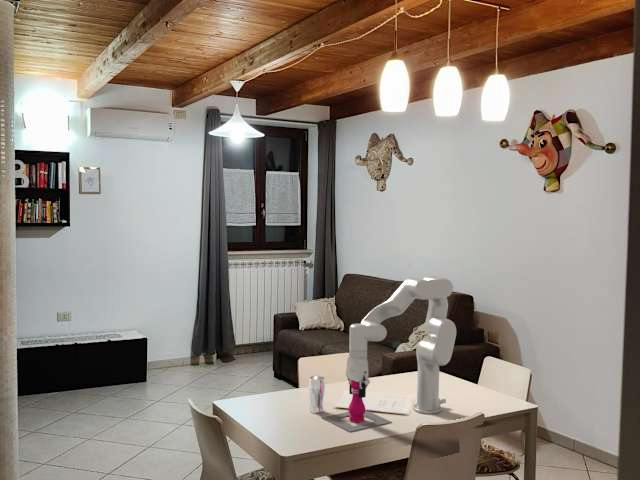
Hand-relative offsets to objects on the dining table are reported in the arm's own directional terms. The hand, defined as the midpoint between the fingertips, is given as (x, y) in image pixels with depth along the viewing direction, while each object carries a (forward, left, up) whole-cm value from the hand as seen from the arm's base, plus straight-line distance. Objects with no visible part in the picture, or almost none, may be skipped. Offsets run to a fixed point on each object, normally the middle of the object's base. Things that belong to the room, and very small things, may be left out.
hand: (357, 395), depth 272 cm
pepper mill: (0, 0, -11) cm, 11 cm away
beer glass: (+8, -19, -11) cm, 23 cm away
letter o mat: (0, 0, -11) cm, 11 cm away
